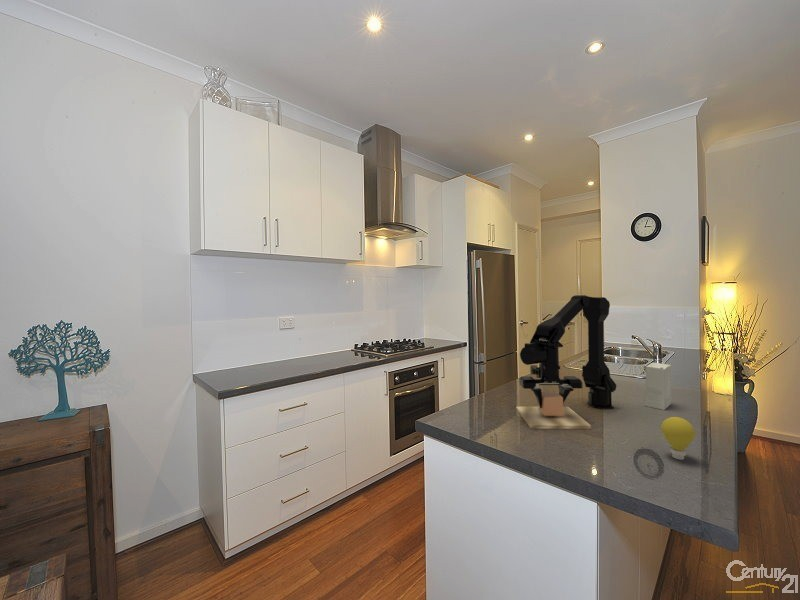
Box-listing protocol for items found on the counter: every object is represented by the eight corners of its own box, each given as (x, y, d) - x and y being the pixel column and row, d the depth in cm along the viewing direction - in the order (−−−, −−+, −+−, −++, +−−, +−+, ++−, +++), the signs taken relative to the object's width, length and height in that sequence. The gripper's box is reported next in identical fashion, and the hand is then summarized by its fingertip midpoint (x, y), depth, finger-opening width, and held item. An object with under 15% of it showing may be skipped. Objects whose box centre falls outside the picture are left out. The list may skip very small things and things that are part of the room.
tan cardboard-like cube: (556, 409, 118) (556, 392, 118) (563, 415, 112) (562, 397, 112) (538, 409, 119) (538, 392, 119) (544, 415, 113) (543, 397, 113)
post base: (568, 409, 124) (567, 394, 124) (591, 428, 106) (590, 411, 106) (516, 409, 126) (516, 394, 125) (530, 428, 108) (530, 411, 108)
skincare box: (652, 401, 130) (651, 362, 130) (672, 405, 125) (671, 364, 125) (645, 406, 125) (644, 365, 124) (665, 410, 120) (665, 367, 120)
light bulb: (654, 452, 90) (654, 413, 90) (678, 450, 91) (678, 412, 90) (677, 464, 83) (676, 423, 83) (703, 462, 84) (702, 421, 84)
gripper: (568, 356, 123) (569, 400, 123) (514, 357, 124) (516, 400, 125) (582, 362, 112) (583, 411, 112) (523, 363, 113) (524, 411, 114)
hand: (550, 407), depth 116 cm, fingers closed on tan cardboard-like cube, 6 cm apart
